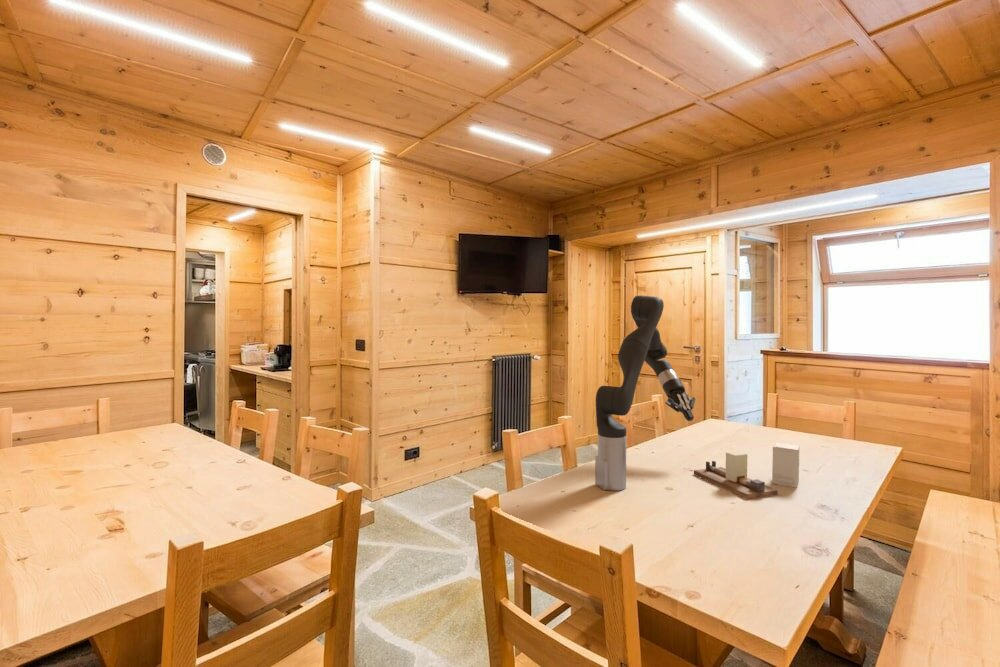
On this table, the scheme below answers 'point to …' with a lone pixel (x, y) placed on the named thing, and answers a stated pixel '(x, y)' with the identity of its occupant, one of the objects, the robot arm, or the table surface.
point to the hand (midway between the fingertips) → (690, 419)
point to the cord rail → (740, 487)
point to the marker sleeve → (736, 465)
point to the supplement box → (785, 464)
